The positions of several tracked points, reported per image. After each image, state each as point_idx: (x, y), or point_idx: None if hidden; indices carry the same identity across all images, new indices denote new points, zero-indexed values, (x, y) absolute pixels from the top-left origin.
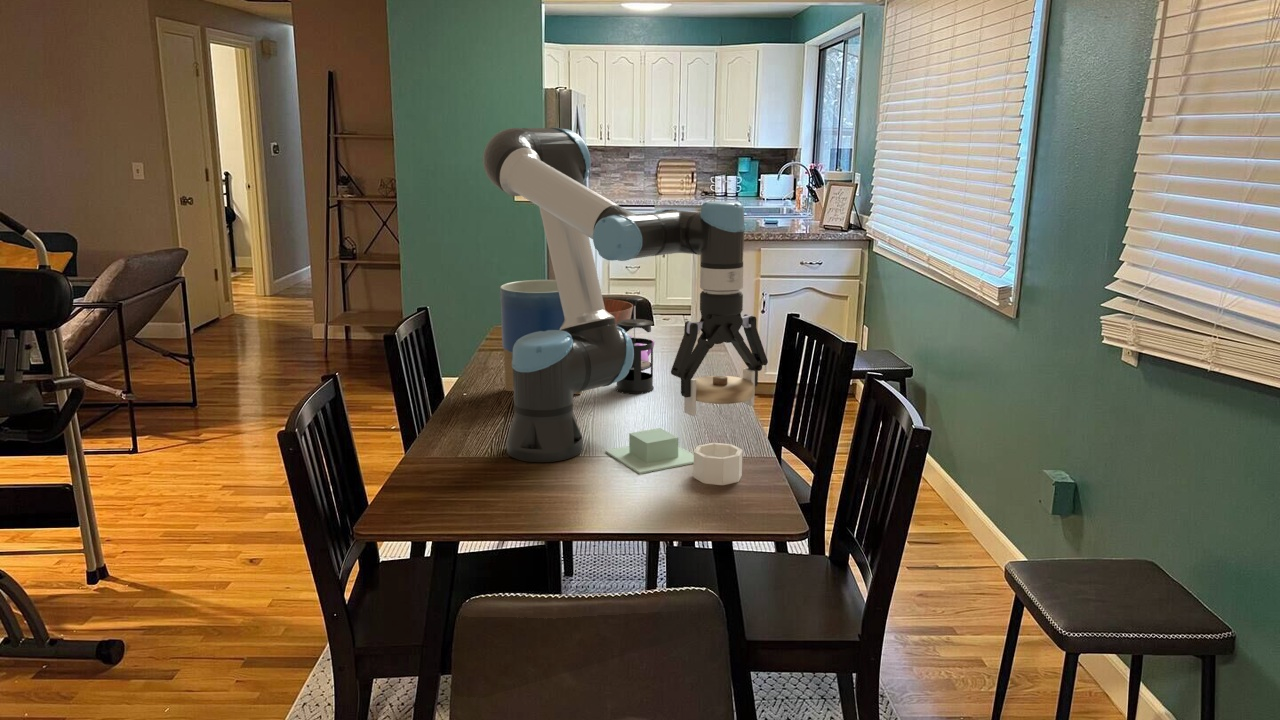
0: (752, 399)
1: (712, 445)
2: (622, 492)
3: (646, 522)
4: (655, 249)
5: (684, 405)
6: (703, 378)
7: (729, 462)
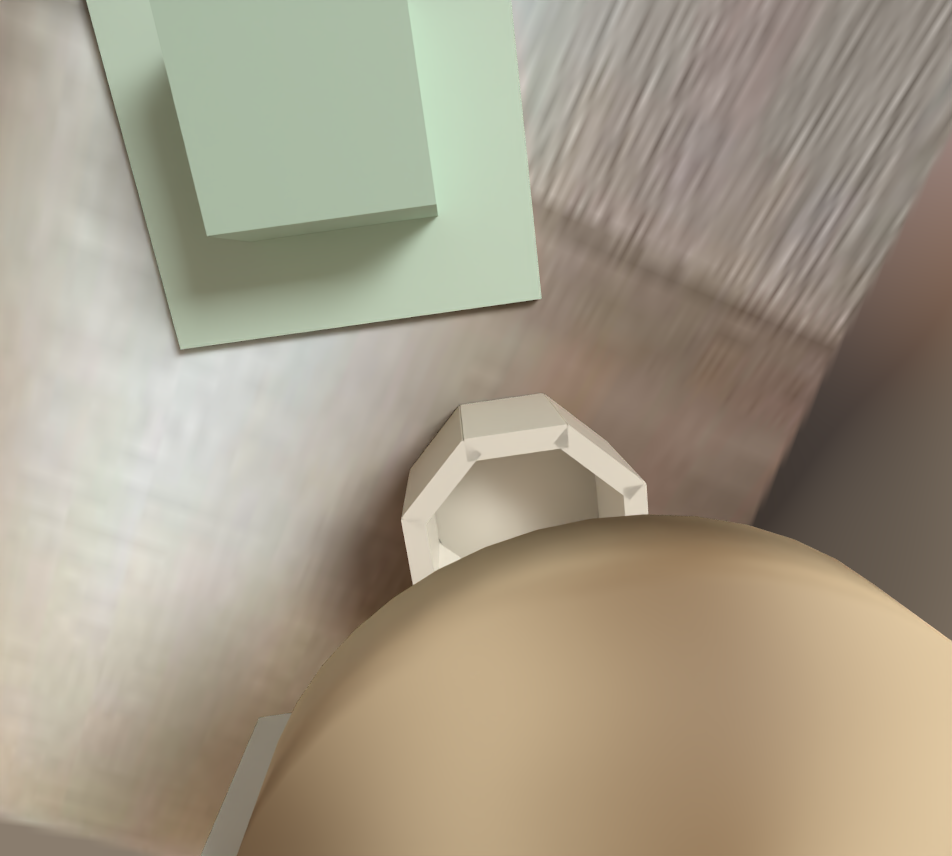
0: None
1: (546, 449)
2: (58, 521)
3: (92, 785)
4: None
5: (238, 769)
6: (600, 689)
7: None
